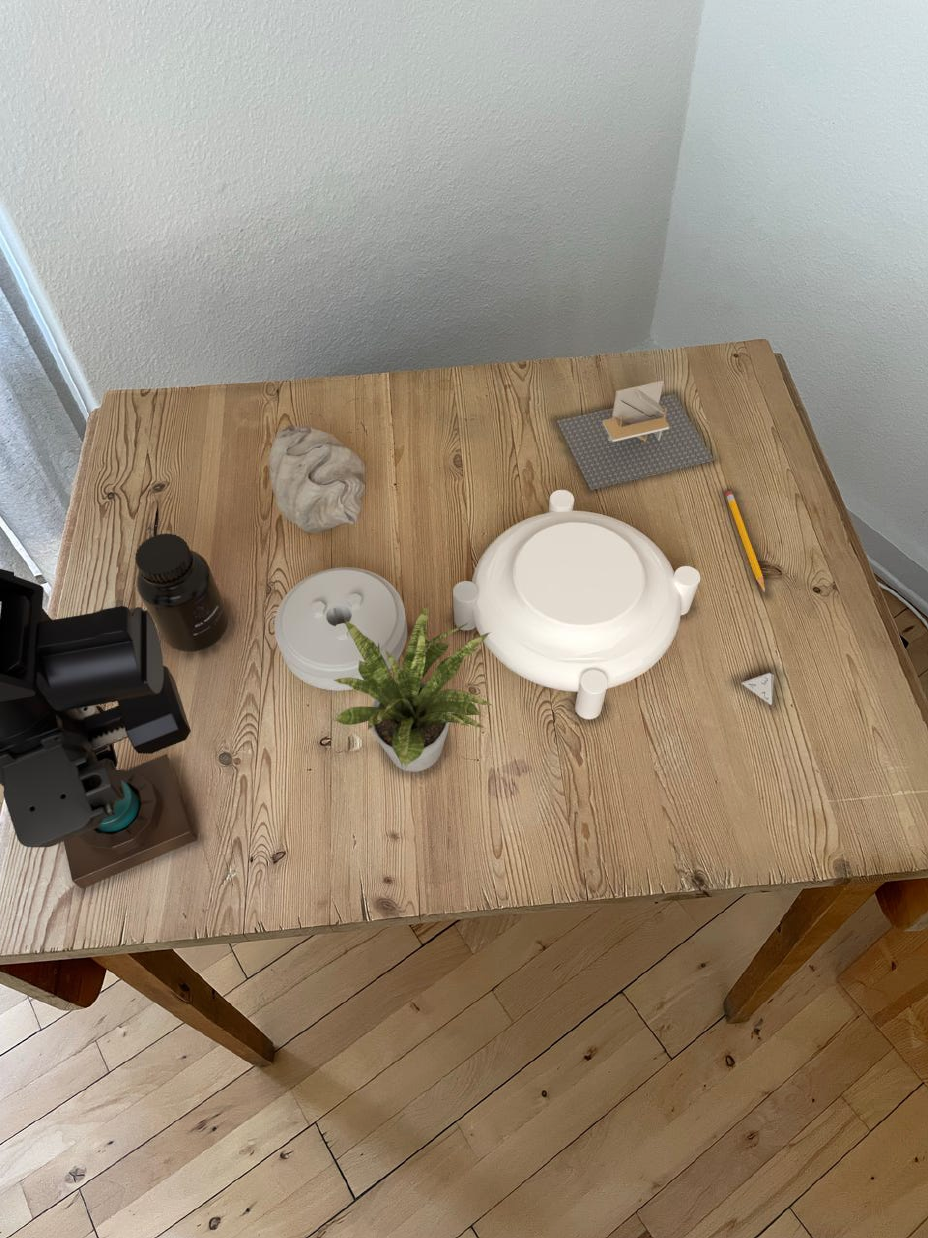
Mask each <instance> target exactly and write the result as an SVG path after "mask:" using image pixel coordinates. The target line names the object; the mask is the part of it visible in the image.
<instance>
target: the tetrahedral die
mask: <svg viewBox="0 0 928 1238" xmlns="http://www.w3.org/2000/svg"><path fill="white" fill-rule="evenodd" d="M774 683H775V674H773V673H771V672H768V673H765V674H762V675H759V676H756V677H753V678H751V679H748V680H745V681H742V682H741V684H742V685H743V686H744V687H745V688H747V689H748V690H750V691H751V693H753V694H755V695H756V696H758V698H761V699H762V700H763V701H764V702H765V703H767V704H768V705H770V706H772V705H773V696H774Z"/></svg>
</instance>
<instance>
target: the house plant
mask: <svg viewBox="0 0 928 1238" xmlns="http://www.w3.org/2000/svg"><path fill="white" fill-rule="evenodd" d="M428 607H429V604H427V605H425V607H424V608H423V609H422V611H421V613H420V614H419V615H418V617H417V619H416V621H415V623H414V626H413V628H412V631H411V634H410V639H409V641H408V645H407V648H406V651H405V653H404V657H403V661H402V667H401V666H400V665H399V664H398V662H397V663H396V661H395V659H394V658H393V656H392V655H390V654H389V653H388V652H387V651H386V654H387V657H388V659H389V662H390V665H391V667H392V668H391V670H392V673H393V675H394V677H393V675H392V673H391V670H389V669H388V666H387V664H386V662H385V660H384V658H383V657H382V655H381V653H380V649H379V642H378V647H377V646H376V644H375V643H374V642H373V641H372V640H370V639H369V638H368V637H366V636H364V635H363V634H362V633H361V632H360V631H359V629H358V628H357V627H356V626H355V625H353V624H351V623H349V622H347V621H345V624H346V626H347V628H348V630H349V633H350V635H351V637H352V639H353V640H354V642H355V644H356V646H357V648H358V650H359V652H360V653H361V655H362V657H363V659H364V661H365V662H362V661H360V660H359V668H358V670H359V673H360V675H361V676H362V678H363V679H364V680H365V681H364V680H361V679H357V678H341V679H336V680H333V681H336V682H338V683H340V684H346V685H348V686H350V687H351V688H353V689H352V690H355V691H358V692H362V693H364V694H367V695H369V697H371V698H373V699H374V701H373V702H372V705H371V706H363V705H362V706H351V707H349V708H347V709H345V710H344V711H343V712H341V713H339V715H337V716H336V717H335V718H333V720H332V722H333V721H335V722H338V723H340V724H342V725H348V726H349V725H350V726H351V725H358V724H362V723H366V722H367V731H369V730H371V732H372V734H373V735H374V737H375V739H376V740H377V742H378V743H379V744H380V746H381V748H383V750H384V751H385V753H386V754H387V755H388V757H389V758H390V760H391V761H392V763H393V764H394V765H395V766H396V767H397V768H399V769H401V770H403V771H405V772H410V773H411V772H422V771H424V770H425V771H426V770H427V769H429V768H431V767H433V766H434V765H435V763H436V762H437V761H438V760H439V758H440V757H441V755H442V751H443V749H444V745H445V741H446V739H447V734H448V731H449V728H450V725H451V723H452V724H453V723H454V724H459V725H462V726H466V727H469V726H470V725H471V726H473V727H475V728H482V729H485V727H484V726H483V725H481V724H480V723H479V722H478V721H477V720H475V719H474V718H471V717H470V716H480V717H482V714H481V713H480V710H479V709H478V708H477V706H476V705H477V704H478V705H480V706H492V704H491V703H490V702H488V701H487V700H485V699H483V698H482V697H480V696H477V695H475V694H472V693H470V692H468V691H465V690H460V689H453V688H452V689H451V688H448V689H443V688H444V686H445V685H447V684H448V683H449V682H450V681H451V680H452V679H453V678H454V677H455V676H456V674H457V673H458V671H459V670H460V667H461V665H462V663H463V662H464V661H465V659H466V658H467V657H469V656H470V655H472V654H474V653H475V652H476V651H477V650H478V649H479V647H477V646H479V645H480V644H481V643H482V642H483V640H484V639H485V638H486V637H487V635H488V634H489V633H486V634H484V635H482V636H480V635H479V636H477V637H475V638H474V639H472V640H470V641H469V642H467V643H465V644H464V645H462V646H461V647H460V648H459V649H458V650H456V651H455V652H454V653H452V654H451V655H450V656H449V657H447V658H444V659H443V660H442V661H440V663H439V664H438V665H437V667H436V669H435V670H434V672H433V674H432V675H431V676H430V678H429V680H428V681H427V682H426V681H423V679H424V677H425V676H426V675H427V673H428V672H429V670H430V669H431V667H432V666H433V665H434V664H435V663H436V662H437V661H438V659H440V658H441V657H442V656H443V655H444V654H445V653H446V652H447V650H448V648H449V645H450V644H449V643H445V642H439V641H441V640H442V639H444V638H446V637H448V636H450V635H452V634H454V633H457V631H459V630H461V629H460V628H462V627H463V626H465V625H466V624H465V625H462V626H460V627H456V628H453V629H451V630H448V631H446V632H443V633H441V634H439V635H436V636H435V637H433V638H432V639H430V640H429V637H428V630H427V629H428V628H427V625H428V621H429V620H428V619H429V610H428V609H429V608H428ZM344 620H345V618H344ZM467 624H468V623H467ZM490 633H491V632H490Z"/></svg>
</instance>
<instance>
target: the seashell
mask: <svg viewBox="0 0 928 1238" xmlns="http://www.w3.org/2000/svg"><path fill="white" fill-rule="evenodd" d="M272 442H273V443H272V446H271V449H270V450H269V455H268V473H269V482H270V487H271V490H272V492H273V494H274V497H275V504H276V507H277V508H278V510H279V511H280V513H281V514H282V516H283V517H284V518H285V519H287V521H289V522H291V523H293V524H295V525H296V526H297V528H298V529H299V530H301V531H303V532H304V533H308V534H309V533H310V534H317V533H321V532H327V531H329V530H331V529H334V528H337V527H338V526H342V525H353V524H357V523H358V521H359V517H360V515H361V512H362V511H361V510H362V499H363V497H364V496H365V494H366V492H367V489H366V485H365V484H366V480H367V479H366V472H367V470H366V469H367V468H366V465H365V463H364V461H363V459H361V458H360V457H359V456H358V455H357V454H356V453H355V452H354V451H353V450H352V449H350V448H349V447H346V446H345V445H344V444H342V442H341V441H340V440H338V439H337V438H336V437H335V436H334V435H332V434H331V433H330V432H325V431H324V430H321V429H316V428H314V427H310V426H301V427H300V426H298V425H294V424H290V425H287V426H286V427H285V428H283V429H281V430H280V431H277V432H276V434H275V437H274V440H273V441H272Z"/></svg>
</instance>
